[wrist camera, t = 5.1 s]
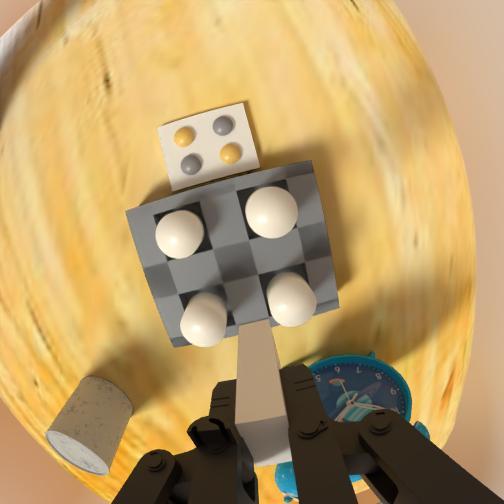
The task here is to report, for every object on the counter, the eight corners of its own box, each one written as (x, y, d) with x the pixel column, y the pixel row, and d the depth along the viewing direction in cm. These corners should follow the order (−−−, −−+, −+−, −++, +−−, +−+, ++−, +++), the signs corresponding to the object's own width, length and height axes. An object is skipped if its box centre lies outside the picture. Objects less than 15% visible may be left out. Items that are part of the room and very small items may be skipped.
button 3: (240, 193, 24) (240, 193, 20) (284, 182, 24) (291, 181, 20) (251, 236, 25) (253, 243, 21) (294, 225, 25) (302, 231, 21)
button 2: (181, 297, 26) (173, 312, 22) (220, 287, 26) (218, 302, 22) (194, 332, 26) (189, 350, 23) (232, 324, 26) (231, 342, 23)
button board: (136, 208, 27) (125, 211, 24) (303, 163, 26) (311, 160, 23) (179, 334, 30) (173, 347, 27) (330, 297, 30) (339, 307, 27)
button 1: (161, 215, 25) (150, 219, 22) (199, 204, 25) (193, 206, 22) (172, 254, 26) (163, 263, 23) (210, 244, 26) (206, 252, 23)
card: (158, 128, 25) (156, 127, 24) (242, 104, 25) (242, 102, 24) (173, 191, 26) (171, 191, 26) (259, 167, 26) (260, 167, 25)
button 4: (262, 277, 25) (265, 290, 22) (303, 266, 25) (312, 278, 22) (271, 314, 26) (275, 331, 23) (310, 303, 26) (319, 319, 23)
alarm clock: (386, 332, 31) (475, 433, 12) (376, 389, 34) (434, 487, 14) (260, 354, 31) (279, 505, 12) (266, 411, 33) (282, 535, 14)
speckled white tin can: (83, 407, 33) (55, 456, 21) (75, 367, 31) (36, 419, 19) (134, 426, 34) (113, 483, 22) (132, 389, 32) (103, 451, 20)
